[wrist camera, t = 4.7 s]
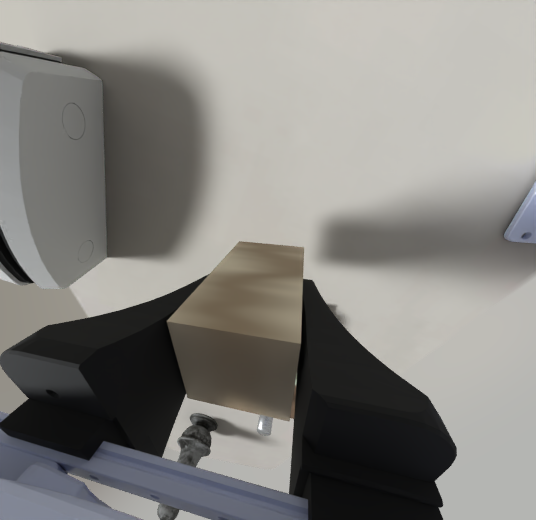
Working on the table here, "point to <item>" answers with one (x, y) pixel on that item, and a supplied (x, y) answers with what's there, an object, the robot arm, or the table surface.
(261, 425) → the metal post
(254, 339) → the maple peg
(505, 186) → the table surface
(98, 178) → the white rounded block
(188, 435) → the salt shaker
